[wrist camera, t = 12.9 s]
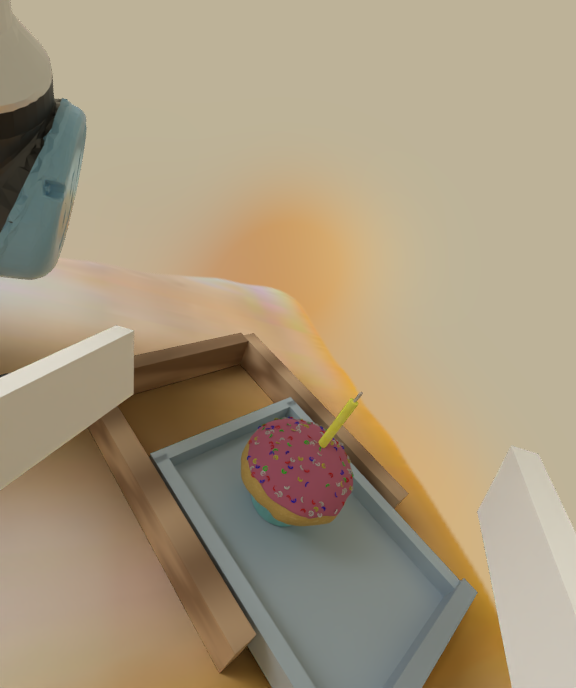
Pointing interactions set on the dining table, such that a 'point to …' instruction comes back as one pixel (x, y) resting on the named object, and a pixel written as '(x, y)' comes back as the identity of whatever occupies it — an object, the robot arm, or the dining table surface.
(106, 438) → the dock
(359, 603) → the tray
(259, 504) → the cupcake
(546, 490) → the robot arm
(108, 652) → the dining table surface
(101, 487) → the dining table surface
